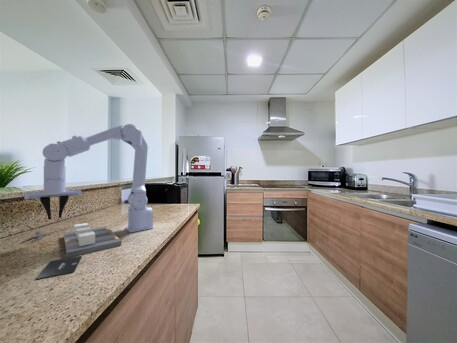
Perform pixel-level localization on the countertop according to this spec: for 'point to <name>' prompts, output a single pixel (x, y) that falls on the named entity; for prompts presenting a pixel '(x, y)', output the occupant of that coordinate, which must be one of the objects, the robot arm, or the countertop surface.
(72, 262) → the solid state drive
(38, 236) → the pliers
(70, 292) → the countertop surface
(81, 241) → the white block
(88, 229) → the tab
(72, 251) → the switch board
